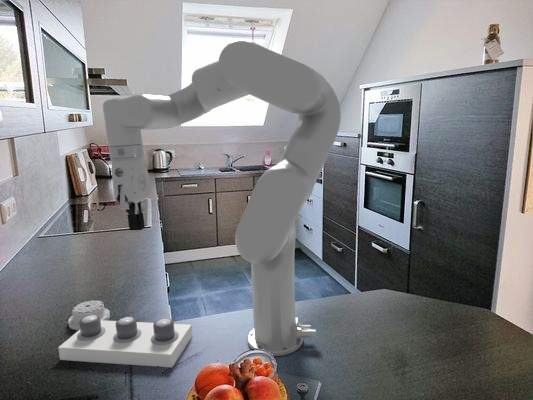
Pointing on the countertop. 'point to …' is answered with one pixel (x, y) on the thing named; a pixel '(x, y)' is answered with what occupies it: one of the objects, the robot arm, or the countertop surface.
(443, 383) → the countertop surface
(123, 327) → the knob middle
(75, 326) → the mechanical component
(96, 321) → the knob far
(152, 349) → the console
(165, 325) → the knob near
